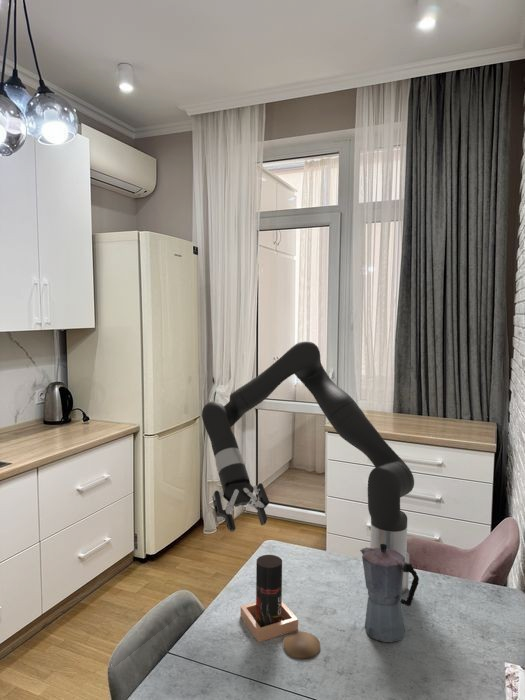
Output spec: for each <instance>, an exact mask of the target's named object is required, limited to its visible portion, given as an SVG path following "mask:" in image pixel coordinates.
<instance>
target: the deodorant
mask: <svg viewBox="0 0 525 700" xmlns="http://www.w3.org/2000/svg"><path fill="white" fill-rule="evenodd" d="M255 567H256V571H255V573H256V574H255V575H256V579H255V580H256V582H255V586H256V587H255V594H256V595H255V598H256V600H255V602H256V615H255V621H256V622H257V623H258V625H259V626H260V627H265V626H268V625H271V624H274V623H278V622H281V621H282V616H281V613H282V601H283V600H282V598H283V595H282V594H283V593H282V591H283V560H282V558H281V557H279V556H278V555H275V554H263V555H260V556H258V557H257V559H256V565H255Z"/></svg>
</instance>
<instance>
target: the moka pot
mask: <svg viewBox="0 0 525 700" xmlns="http://www.w3.org/2000/svg"><path fill="white" fill-rule="evenodd" d="M359 552H361V554H362V557H361V559H362V566H363V567H362V568H363V573H364V580H365V581H364V582H365V588H366V589H367V595H368V596H367V603H366V610H365V611H366V612H365V621H364V630H365V631H366V633H367V635H369V636H370V637H371V638H372V639H374V640H377V641H379V642H383V643H393V642H395V643H396V642H397V641H401V640H403V638H404V637H405V634H406V626H405V621H404V614H403V606H402V605H404V606H406V607H411V606H412V603H413V600H414V596H415V593H416V591H417V588H418V585H419V580H420V577H419V576H418V574H417V571H416V570H415V569H414V567H413V566H412V565H413V564H412V563H409V564H407V563H406V562H405V557H404V556H403V555H401V554H400V553H398V552H397V551H396V550H391V549H387V545H385V544H380V547H379V548H370V547H366V546H365V547H364V548H361V549H360V550H359ZM404 572H409V574H411V575H412V577H413V579H412V581H411V586H410V588H409V592H408V596H407V597H406V599H404V598H401V595H400V592H401V589H402V582H403V573H404Z"/></svg>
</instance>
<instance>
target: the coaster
mask: <svg viewBox="0 0 525 700" xmlns="http://www.w3.org/2000/svg"><path fill="white" fill-rule="evenodd" d="M282 647H283V650H284V652H285V653H286V654H287V655H288V656H289V657H291V658H295V659H298V660H309V659H312V658H315V657H317V655H318V654H319V653H320V650H321V641H320V640H319V639H318V637H317V636H315V635H314V634H312V633H311V632H307V631H304V630H303V631H301V630H300V631H299V630H296V631H293V632H290V633H287V635H285V637H284V638H283V643H282Z"/></svg>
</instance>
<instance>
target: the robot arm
mask: <svg viewBox="0 0 525 700" xmlns="http://www.w3.org/2000/svg"><path fill="white" fill-rule="evenodd" d="M293 375H295V376H296V377H297V379H298V380H299V381H300V382H301V383H302V384H303V385H304V387H306V389H307V390H308V391H309V392H310V393H311V395H312V396H313V398H314V399H315V401H316V403H317V405H318V406H319V408H320V410H321V411H322V413H323V414H324V416H325V418H326V419H327V420H328V422H329V423H330V425H331V426H332V427H333V429H334V430H335V432H336V433H337V434H338V436H339V437H341V438H342V439H343V440H344V441H346V442H347V443H348V444H349V445H351V446H353V447H355V448H356V449H357V450H358V451H360V452H361V453H362V454H364V455H365V456H366V458H367V459H368V460H369V461H370V462H371V463H372V465H373V466H374V468H372V470H371V471H370V473H369V475H368V480H367V509H368V514H369V516H370V542H369V544H370V545H369V548H379V547H380V544H385V545H387V549H391V550H396V551H397V552H398V553H400V554H401V555H403V556H404V557H405V562H406V563H407V564H410V554H409V552H408V551H407V545H408V544H407V543H408V516H407V514H406V513H405V512H404V511H402V510H401V498H403V497H405V496H406V495H408V494H409V493H411V492H412V491H413V489H414V487H415V478H414V475H413V472H412V471H411V469H410V467H409V466H408V465H407V464H406V462H405V461H404V460H403V459H402V458H401V457H400V456H399V455H398V454H397V453H396V452H395V451H394V450H393V449H392V447H391V446H390V445H389V444H388V443H387V442H386V440H385V439H384V438H383V437H382V436H381V433H379V431H378V430H377V429H376V428H375V426H374V425H373V424H372V422H371V421H370V420H369V419H368V417H367V415H365V413H364V412H363V410H362V408H360V407H359V405H358V404H357V402H356V401H355V400H354V398H353V397H352V396H350V395H349V394H348V393H347V392H346V391H344V389H342V388H340V387H339V386H338V385H337V384H336V383H334V381H333V380H332V379H331V378H330V376H329V374H328V373H327V372H326V370H325V368H324V366H323V364H322V362H321V353H320V348H319V347H318V346H317V344H315V343H314V342H313V341H308V340H303V341H300V342H297V343H295V344H294V345H293V346H291V347H290V348H289V349H288V350H287V351H286V352H285V353H284V354H283V355H282V356H281V357H280V358H278V359H277V360H276V361H275V362H273V364H271V365H270V366H269V367H268V368H266V369H265V370H264V371H262V372H261V373H260V374H258V375H257V376H255V377H254V378H253V379H251V380H250V381H248V382H247V383H245V384H244V385H242V386H240V387H239V388H238V389H236V390H234V391H233V392H231V394H230V395H229V401H228V402H227V403H226V404H225V405H223V404H222V403H221V402H219V401H209V402H208V403H206V404H205V405H203V408H202V411H201V418H202V419H201V420H202V422H203V425H204V428H205V430H206V432H207V433H206V434H208V438H209V440H210V444H211V449H212V452H213V455H214V461H215V467H216V471H217V475H218V478H219V481H220V485H221V489H222V491H219V490H215V491H214V493H213V494H212V502H213V507H214V511H215V516H216V517H217V518H219V517H222V518H224V521H225V525H226V528H227V530H228V531H229V532H231V533H233V532H235V530H236V525H235V522H234V517H233V515H232V513H231V512H232V509H233V507H235V508H236V507H240V506H247V505H248V506H250V507H252V508H253V509H254V510H256V512H257V513H256V514H257V516H258V519H259V520H258V521H259V522H260V525H261V526H265V524H267V520H268V517H267V514H266V510H265V509H266V508H267V507H268V506H269V504H270V500H269V498H268V497H269V496H268V495H267V492H266V490H265V488H264V487H265V486H264V484H262V483H258V484H257V485H252V484H251V481H250V477H249V475H248V470H247V467H246V462H245V461H244V459H243V458H244V457H243V456H242V453H241V451H240V448H239V445H238V441H237V438H236V437H235V434H234V432H233V431H232V429H231V428H232V427H233V426H234V425H235V424H236V423H237V422H238V421H239V420H240V419H241V418H242V417H243V416H244V415H245V414H246V413H247V412H249V411H250V410H252V409H253V408H256V407H257V405H258V406H259V405H260V404H261V403H262V402H263V401H265V400H266V399H267V398H268V397H269V396H271V394H273V392H274V391H275V390H276V389H277V388H278V387H279V386H280V385H281V384H282V383H283V382H284V381H286V380H287V379H288V378H290V377H291V376H293ZM256 495H257V496H258V497H257V496H256ZM223 498H224V500H226V501H227V505H226V506H225V509H223V505H222V499H223ZM409 574H410V572H404V573H403V582H402V589H401V592H400V596H402V595H403V594H404V593H405V592H406V590H409Z"/></svg>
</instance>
